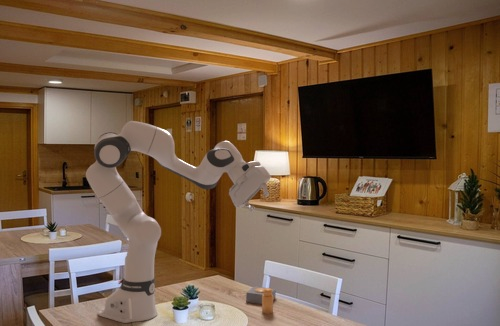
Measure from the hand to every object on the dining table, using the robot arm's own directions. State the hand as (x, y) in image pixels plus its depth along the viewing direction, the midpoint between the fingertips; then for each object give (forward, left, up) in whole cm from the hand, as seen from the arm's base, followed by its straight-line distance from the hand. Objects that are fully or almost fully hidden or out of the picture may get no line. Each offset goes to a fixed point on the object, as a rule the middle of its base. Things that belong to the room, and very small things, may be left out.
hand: (260, 203), depth 172 cm
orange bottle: (+2, +7, -44) cm, 45 cm away
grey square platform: (-5, +20, -44) cm, 49 cm away
